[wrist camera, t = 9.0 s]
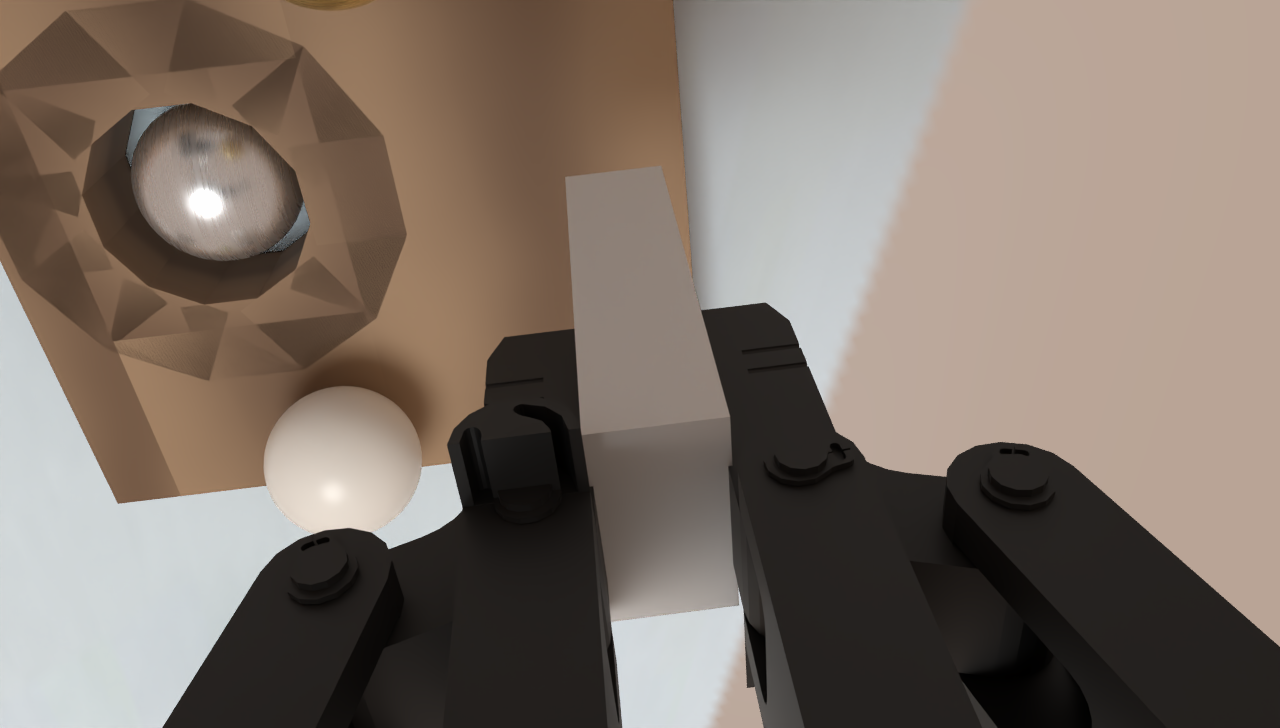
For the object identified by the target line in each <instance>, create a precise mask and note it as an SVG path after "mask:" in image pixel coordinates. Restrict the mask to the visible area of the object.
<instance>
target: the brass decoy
mask: <svg viewBox="0 0 1280 728" xmlns="http://www.w3.org/2000/svg"><path fill="white" fill-rule="evenodd" d="M285 1H287V2H289V3H292V4H294V5H297V6H300V7H304V8H308V9H313V10H321V11H341V10H348V9H354V8H358V7H361V6H364V5H367V4H369V3H371V2H373V1H375V0H285Z"/></svg>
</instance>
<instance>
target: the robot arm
mask: <svg viewBox="0 0 1280 728" xmlns="http://www.w3.org/2000/svg"><path fill="white" fill-rule="evenodd" d="M565 181H566V198H567V214H568V230H569V247H570V263H571V279H572V295H573V312H574V328H575V329H567V330H558V331H550V332H542V333H534V334H525V335H517V336H509V337H504V338H503V339H502V341H501V342H500V344H499V345H498V346H497V348H496V349H495V350H494V352H493V353H492V354H491V356H490V357H489V358H488V360H487V368H486V381H485V386H486V389H485V394H484V407H483V408H481V409H479V410H477V411H475V412H473V413H471V414H469V415H468V416H467V417H466V418H465V419H463V420H462V421H461V422H460V423H459V424H458V425H457V426H456V427H455V428H454V429H453V431H452V434H451V436H450V439H449V441H448V443H447V448H448V452H449V455H450V459H451V463H452V467H453V471H454V475H455V479H456V483H457V487H458V491H459V495H460V499H461V503H462V507H463V509H462V512H461V513H460V514H459V515H458V516H457V517H456V518H455V519H453V520H452V521H450V522H449V523H447V524H446V525H445V526H443V527H442V528H440V529H438V530H436V531H434V532H432V533H430V534H428V535H425V536H423V537H421V538H418V539H416V540H413V541H410V542H408V543H405V544H402V545H399V546H397V547H394V548H391V549H388V548H387V545H386V543H385V542H384V541H382V540H381V539H380V538H378V537H377V536H375V535H374V534H373V533H371V532H367V531H363V530H358V529H353V528H343V529H332V530H324V531H321V532H318V533H316V534H313V535H310V536H307V537H304V538H301V539H299V540H297V541H296V542H294V543H293V544H291V545H290V546H288V547H287V548H285V549H283V550H282V551H280V552H279V553H277V554H276V555H275V556H274V557H273V559H272V560H271V561H270V562H269V563H268V564H267V565H266V566H265V568H264V569H263V570H262V571H261V572H260V573H259V575H258V577H257V578H256V580H255V581H254V583H253V585H252V586H251V588H250V589H249V591H248V593H247V594H246V596H245V597H244V599H243V600H242V602H241V604H240V605H239V607H238V608H237V610H236V612H235V613H234V615H233V616H232V618H231V620H230V621H229V623H228V624H227V626H226V627H225V629H224V631H223V632H222V634H221V635H220V637H219V639H218V640H217V642H216V643H215V645H214V647H213V648H212V650H211V651H210V653H209V654H208V656H207V658H206V659H205V661H204V662H203V664H202V666H201V667H200V669H199V670H198V672H197V674H196V675H195V677H194V678H193V680H192V681H191V683H190V685H189V686H188V688H187V689H186V691H185V693H184V694H183V696H182V697H181V699H180V701H179V702H178V704H177V705H176V707H175V708H174V710H173V712H172V713H171V715H170V716H169V718H168V720H167V721H166V723H165V724H164V726H163V728H622V719H621V708H620V696H619V685H618V674H617V662H616V655H615V648H614V642H613V635H612V628H611V622H613V621H621V620H629V619H636V618H644V617H652V616H660V615H667V614H675V613H683V612H691V611H699V610H706V609H714V608H722V607H730V606H737V605H739V596H738V587H739V592H740V596H741V600H742V605H743V609H744V627H745V651H746V673H747V688H750V687H755V690H756V694H757V699H758V703H759V708H760V712H761V717H762V721H763V726H764V728H1280V647H1279V646H1278V645H1277V644H1276V643H1275V642H1274V641H1272V640H1271V639H1270V638H1269V637H1268V636H1267V635H1266V634H1264V633H1263V632H1262V631H1261V630H1260V629H1259V628H1257V627H1256V626H1255V625H1254V624H1253V623H1252V622H1251V621H1250V620H1248V619H1247V618H1246V617H1245V616H1244V615H1243V614H1242V613H1240V612H1239V611H1238V610H1237V609H1236V608H1235V607H1233V606H1232V605H1231V604H1230V603H1229V602H1228V601H1227V600H1226V599H1224V598H1223V597H1222V596H1221V595H1220V594H1219V593H1218V592H1216V591H1215V590H1214V589H1213V588H1212V587H1211V586H1209V585H1208V584H1207V583H1206V582H1205V581H1204V580H1203V579H1202V578H1200V577H1199V576H1198V575H1197V574H1196V573H1195V572H1194V571H1193V570H1191V569H1190V568H1189V567H1188V566H1187V565H1186V564H1184V563H1183V562H1182V561H1181V560H1180V559H1179V558H1178V557H1177V556H1175V555H1174V554H1173V553H1172V552H1171V551H1170V550H1169V549H1167V548H1166V547H1165V546H1164V545H1163V544H1162V543H1161V542H1159V541H1158V540H1157V539H1156V538H1155V537H1154V536H1153V535H1151V534H1150V533H1149V532H1148V531H1147V530H1146V529H1145V528H1143V527H1142V526H1141V525H1140V524H1139V523H1138V522H1137V521H1135V520H1134V519H1133V518H1132V517H1131V516H1130V515H1129V514H1128V513H1126V512H1125V511H1124V510H1123V509H1122V508H1121V507H1120V506H1118V505H1117V504H1116V503H1115V502H1114V501H1113V500H1112V499H1110V498H1109V497H1108V496H1107V495H1106V494H1105V493H1103V492H1102V491H1101V490H1100V489H1099V488H1098V487H1097V486H1096V485H1094V484H1093V483H1092V482H1091V481H1090V480H1089V479H1088V478H1086V477H1085V476H1084V475H1083V474H1082V473H1081V472H1080V471H1078V470H1077V469H1076V468H1075V467H1074V466H1072V465H1071V464H1069V463H1068V462H1066V461H1064V460H1063V459H1061V458H1060V457H1058V456H1057V455H1055V454H1054V453H1051V452H1049V451H1045V450H1042V449H1039V448H1036V447H1033V446H1030V445H1027V444H1015V443H1005V442H998V443H991V444H985V445H978V446H975V447H973V448H971V449H969V450H967V451H965V452H963V453H961V454H959V455H958V456H957V457H956V458H955V460H954V461H953V462H952V464H951V465H950V466H949V468H948V469H947V477H941V476H931V475H921V474H911V473H904V472H899V471H893V470H888V469H884V468H882V467H879V466H876V465H873V464H870V463H868V462H867V461H866V460H865V458H864V456H863V455H862V454H861V452H860V451H859V449H858V448H857V447H856V446H855V444H854V443H853V442H852V441H850V440H848V439H847V438H845V437H843V436H841V435H840V434H838V433H836V432H835V429H834V427H833V424H832V422H831V419H830V417H829V415H828V412H827V410H826V407H825V405H824V403H823V400H822V398H821V395H820V393H819V391H818V388H817V386H816V383H815V381H814V379H813V376H812V374H811V371H810V369H809V367H807V362H806V359H805V357H804V355H803V352H802V350H801V348H799V343H798V340H797V338H796V335H795V333H794V330H793V328H792V326H791V323H790V321H789V320H788V319H787V318H785V317H784V316H783V315H781V314H780V313H779V312H777V311H776V310H775V309H773V308H772V307H771V306H770V305H768V304H767V303H759V304H750V305H742V306H734V307H726V308H717V309H709V310H701V309H700V305H699V302H698V298H697V294H696V291H695V287H694V284H693V280H692V276H691V273H690V269H689V265H688V262H687V258H686V254H685V251H684V247H683V244H682V240H681V236H680V233H679V229H678V225H677V222H676V218H675V214H674V211H673V207H672V204H671V200H670V196H669V193H668V189H667V185H666V182H665V178H664V175H663V171H662V167H661V166H654V167H645V168H637V169H628V170H620V171H612V172H603V173H595V174H586V175H578V176H569V177H565Z"/></svg>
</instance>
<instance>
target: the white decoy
mask: <svg viewBox="0 0 1280 728" xmlns="http://www.w3.org/2000/svg"><path fill="white" fill-rule="evenodd" d="M263 468H264V476H265V481H266V485H267V488H268V491H269V493H270V495H271V497H272V499H273V501H274V503H275V504H276V506H277V507H278V508H279V510H280V511H281V512H282V513H283V514H284V516H285V517H287V518H288V519H289V520H290V521H291V522H292V523H294V524H295V525H297V526H298V527H300V528H302V529H304V530H306V531H308V532H310V533H312V534H316V533H318V532H321V531H324V530H332V529H343V528H353V529H358V530H363V531H367V532H374V531H376V530H378V529H380V528H382V527H384V526H385V525H387V524H388V523H389V522H391V521H392V520H393V519H395V518H396V517H397V516H398V515H399V514H400V513H401V512H402V511H403V509H404V508H405V507H406V506H407V504H408V503H409V502H410V500H411V498H412V496H413V494H414V492H415V490H416V488H417V485H418V482H419V479H420V475H421V469H422V452H421V446H420V441H419V438H418V435H417V433H416V430H415V428H414V426H413V424H412V422H411V421H410V419H409V418H408V417H407V415H406V414H405V413H404V412H403V411H402V410H401V409H400V407H399V406H397V405H396V404H395V403H394V402H393V401H391V400H389V399H388V398H386V397H385V396H383V395H381V394H379V393H377V392H374V391H371V390H368V389H365V388H360V387H353V386H336V387H329V388H325V389H322V390H318V391H316V392H313V393H311V394H309V395H306V396H305V397H303V398H301V399H300V400H298V401H297V402H295V403H294V404H293V405H292V406H290V407H289V408H288V409H287V410H286V411H285V412H284V414H283V415H282V416H281V417H280V418H279V419H278V421H277V422H276V424H275V426H274V427H273V429H272V431H271V433H270V435H269V438H268V441H267V444H266V448H265V452H264V467H263Z"/></svg>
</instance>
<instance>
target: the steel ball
mask: <svg viewBox="0 0 1280 728" xmlns="http://www.w3.org/2000/svg"><path fill="white" fill-rule="evenodd" d="M131 182H132V189H133V193H134V197H135V200H136V202H137V205H138V207H139V209H140V211H141V213H142V215H143V216H144V218H145V219H146V221H147V222H148V224H149V225H150V226H151V227H152V228H153V229H154V231H155V232H156V233H157V234H158V235H159V236H161V237H162V238H163V239H164V240H165V241H167V242H168V243H169V244H171V245H172V246H174V247H176V248H177V249H179V250H181V251H183V252H186V253H188V254H190V255H193V256H196V257H199V258H203V259H209V260H217V261H230V260H239V259H244V258H249V257H252V256H255V255H258V254H260V253H262V252H264V251H266V250H268V249H269V248H271V247H272V246H274V245H275V244H276V243H277V242H279V241H280V240H281V239H282V238H283V237H284V236H285V235H286V234H287V233H288V232H289V230H290V229H291V228H292V226H293V225H294V223H295V221H296V220H297V217H298V215H299V213H300V211H301V207H302V204H303V196H302V193H301V189H300V186H299V182H298V179H297V176H296V172H295V170H294V169H293V168H292V167H291V166H290V165H289V164H288V163H287V162H286V161H285V160H284V159H283V158H282V157H281V156H280V155H279V154H278V153H277V152H276V151H275V150H274V149H273V148H272V146H271V145H270V144H269V143H268V142H267V141H266V140H265V139H264V138H263V137H262V136H261V135H260V134H259V133H258V132H257V131H256V130H255V129H254V128H253V127H252V126H250V125H247V124H245V123H242V122H239V121H237V120H234V119H232V118H229V117H226V116H224V115H221V114H218V113H216V112H213V111H211V110H208V109H205V108H203V107H200V106H197V105H195V104H192V103H189V104H180V105H177V106H175V107H173V108H170V109H169V110H167V111H166V112H164V113H163V114H161V115H160V116H158V117H157V118H156V119H155V120H154V121H153V122H152V123H151V124H150V125H149V126H148V128H147V129H146V130H145V131H144V133H143V134H142V136H141V138H140V139H139V141H138V143H137V146H136V149H135V151H134V154H133V159H132V165H131Z"/></svg>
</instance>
